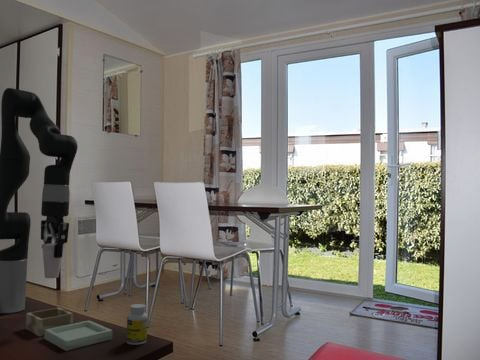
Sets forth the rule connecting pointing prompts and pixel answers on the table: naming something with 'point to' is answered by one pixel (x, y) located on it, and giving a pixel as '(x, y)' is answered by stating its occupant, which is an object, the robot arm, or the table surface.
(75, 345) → the tray
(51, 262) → the smoothie
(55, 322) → the holder
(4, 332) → the table surface
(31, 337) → the table surface
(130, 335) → the supplement bottle
